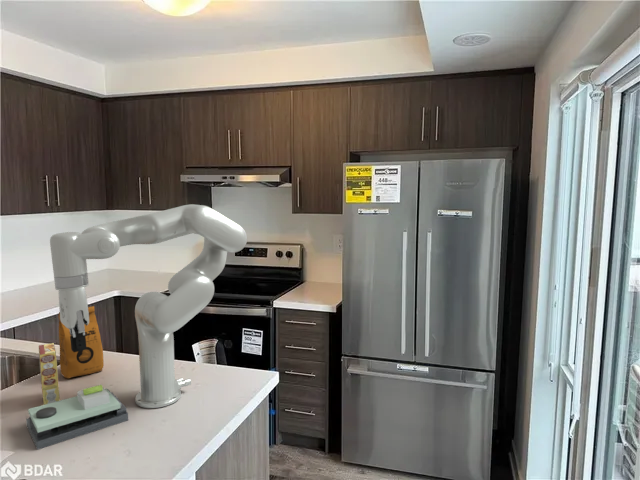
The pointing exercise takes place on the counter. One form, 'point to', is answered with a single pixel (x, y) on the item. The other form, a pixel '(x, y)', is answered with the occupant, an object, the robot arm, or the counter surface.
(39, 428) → the levelling plate
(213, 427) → the counter surface
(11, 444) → the counter surface
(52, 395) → the candy box
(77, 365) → the coffee package
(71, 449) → the counter surface
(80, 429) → the base
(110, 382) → the counter surface
